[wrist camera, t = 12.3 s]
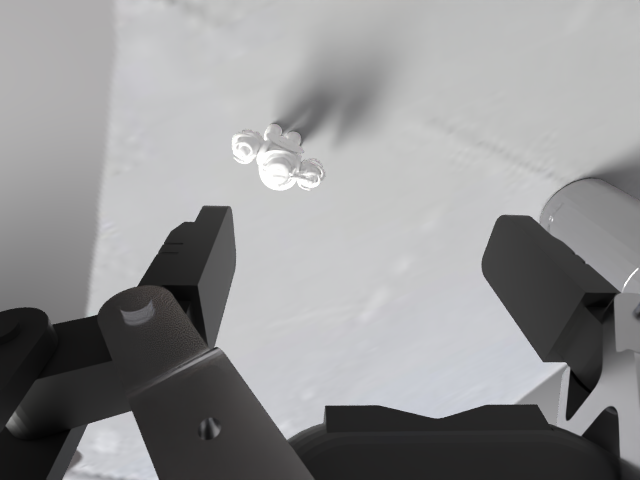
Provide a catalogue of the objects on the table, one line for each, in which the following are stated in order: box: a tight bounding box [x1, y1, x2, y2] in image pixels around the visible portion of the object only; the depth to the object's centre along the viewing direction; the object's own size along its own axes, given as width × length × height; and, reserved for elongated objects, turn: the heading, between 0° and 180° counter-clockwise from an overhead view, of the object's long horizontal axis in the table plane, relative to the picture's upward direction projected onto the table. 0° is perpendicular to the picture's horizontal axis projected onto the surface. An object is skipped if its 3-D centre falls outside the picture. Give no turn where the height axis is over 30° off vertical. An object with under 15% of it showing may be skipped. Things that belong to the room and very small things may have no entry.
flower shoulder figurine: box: [232, 124, 325, 190], centre depth 34 cm, size 9×4×12 cm, turn 64°
